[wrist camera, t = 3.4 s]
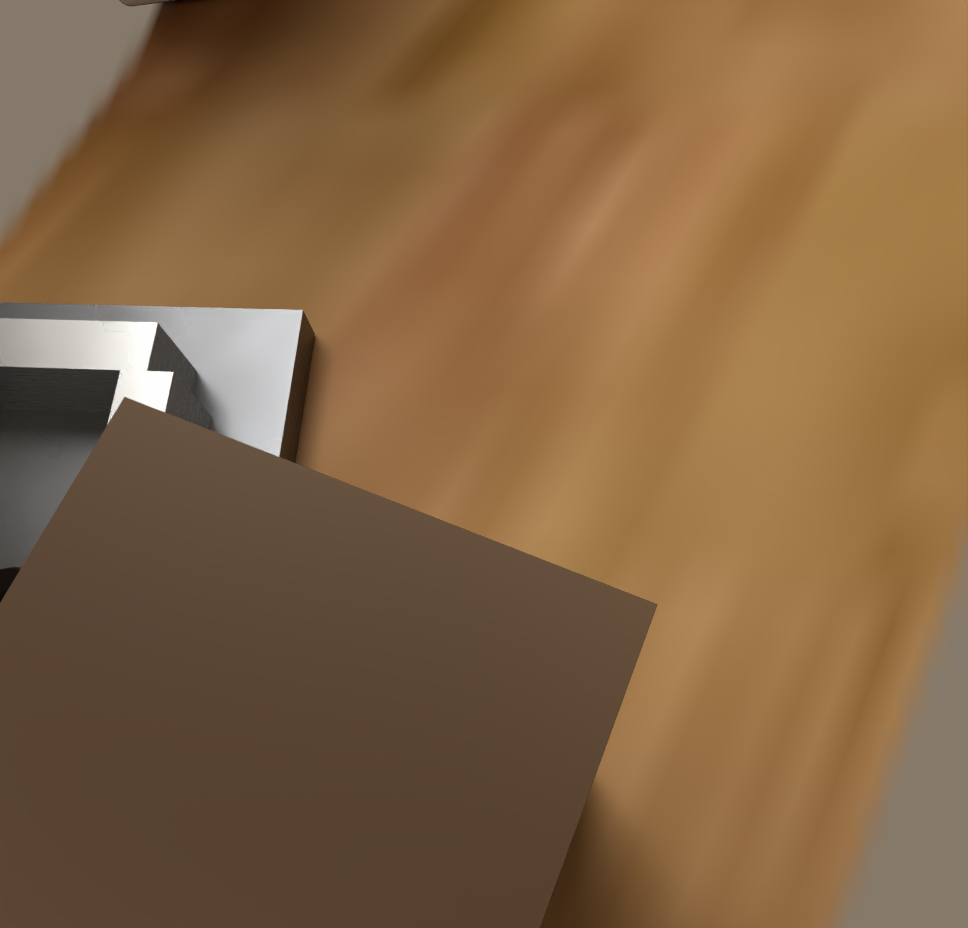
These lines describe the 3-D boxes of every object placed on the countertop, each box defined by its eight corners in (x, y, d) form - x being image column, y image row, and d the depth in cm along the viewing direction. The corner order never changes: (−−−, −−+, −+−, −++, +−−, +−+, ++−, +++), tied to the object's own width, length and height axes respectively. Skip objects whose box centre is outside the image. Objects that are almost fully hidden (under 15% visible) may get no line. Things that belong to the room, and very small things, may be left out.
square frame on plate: (239, 823, 16) (174, 824, 14) (-271, 783, 17) (-430, 777, 15) (314, 333, 20) (275, 255, 17) (-112, 322, 21) (-215, 245, 18)
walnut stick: (518, 930, 15) (389, 1343, 3) (361, 854, 16) (-226, 976, 4) (581, 759, 16) (657, 603, 4) (430, 694, 17) (125, 397, 5)
